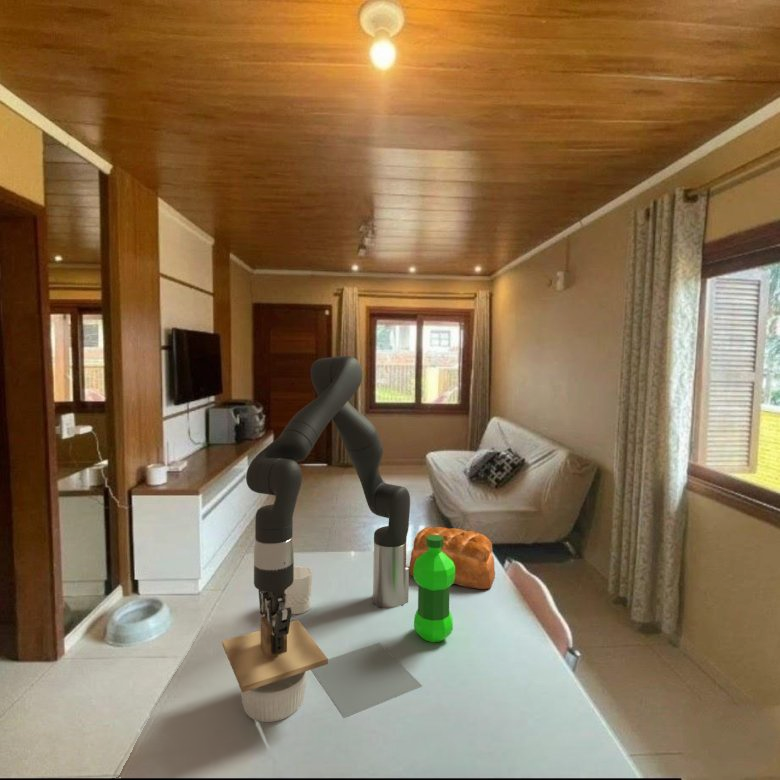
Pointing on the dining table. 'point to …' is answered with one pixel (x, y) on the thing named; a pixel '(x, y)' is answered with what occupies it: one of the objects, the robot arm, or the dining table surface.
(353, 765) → the dining table surface
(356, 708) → the grey mat
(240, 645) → the oak lid
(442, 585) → the plastic bottle
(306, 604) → the white cup
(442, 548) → the bread
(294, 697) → the ramekin
